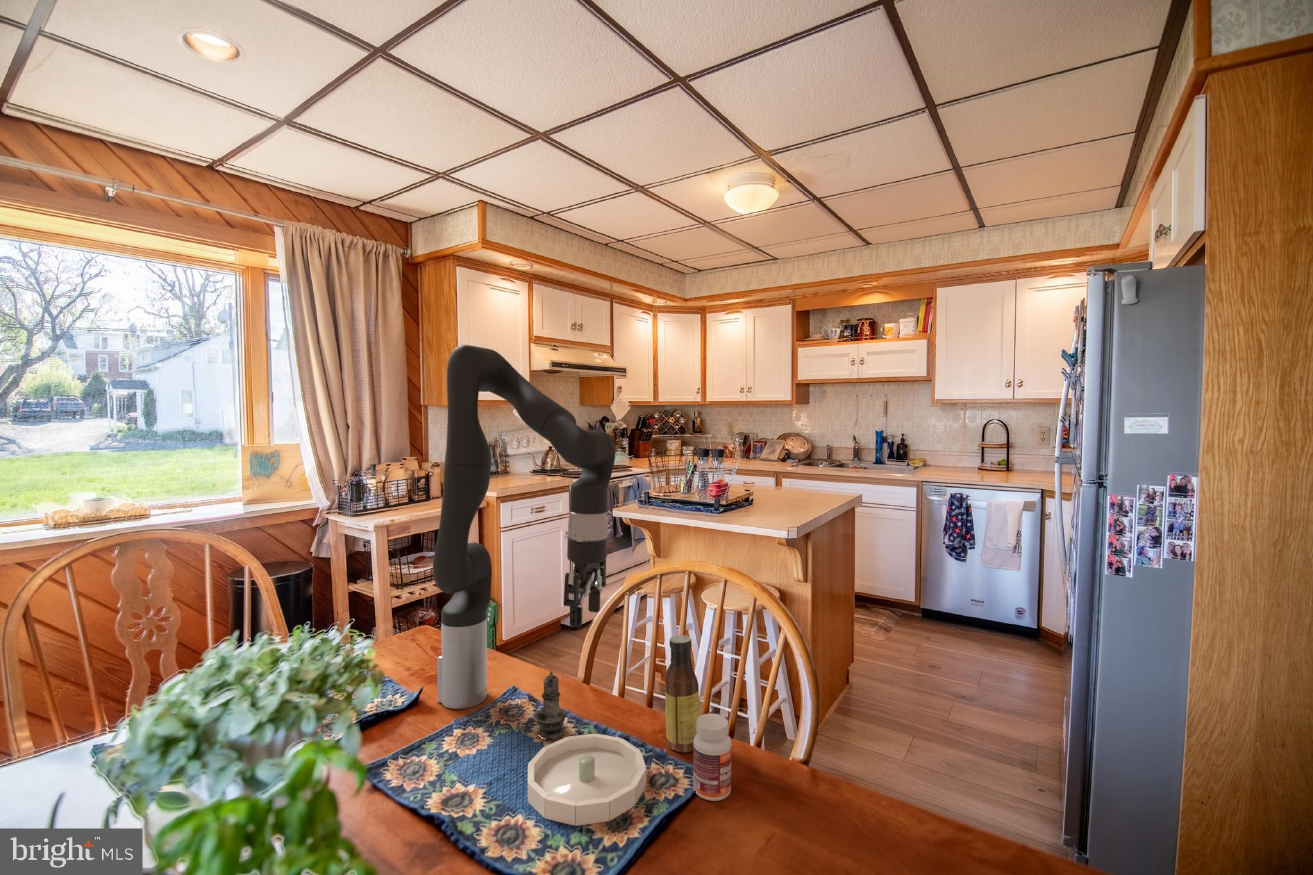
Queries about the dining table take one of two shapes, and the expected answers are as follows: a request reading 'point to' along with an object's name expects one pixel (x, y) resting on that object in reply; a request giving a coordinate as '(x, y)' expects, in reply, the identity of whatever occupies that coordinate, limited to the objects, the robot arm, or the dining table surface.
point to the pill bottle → (712, 758)
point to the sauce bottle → (681, 696)
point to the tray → (586, 779)
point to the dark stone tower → (551, 710)
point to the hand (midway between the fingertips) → (585, 618)
